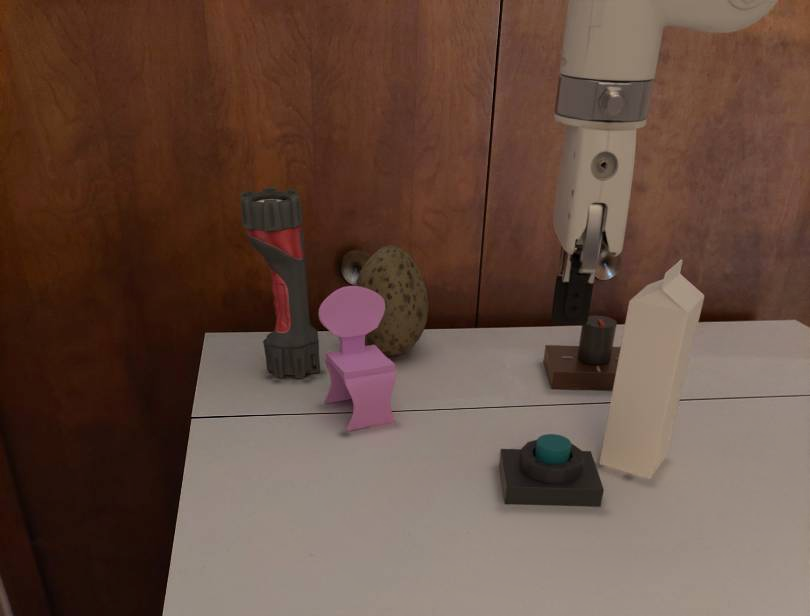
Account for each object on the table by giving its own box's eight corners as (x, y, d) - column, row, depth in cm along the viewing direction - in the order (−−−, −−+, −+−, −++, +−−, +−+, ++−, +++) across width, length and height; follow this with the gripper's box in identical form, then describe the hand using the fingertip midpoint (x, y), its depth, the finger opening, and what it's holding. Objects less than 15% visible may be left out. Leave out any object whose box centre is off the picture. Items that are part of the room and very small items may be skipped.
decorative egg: (441, 353, 115) (447, 247, 107) (389, 375, 109) (390, 263, 100) (388, 333, 121) (389, 230, 113) (336, 352, 115) (332, 245, 106)
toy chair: (340, 434, 95) (336, 311, 86) (316, 403, 102) (310, 286, 93) (404, 422, 98) (406, 301, 89) (376, 393, 104) (376, 278, 96)
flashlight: (245, 369, 110) (226, 191, 96) (291, 355, 114) (279, 182, 101) (278, 388, 105) (263, 203, 92) (325, 372, 109) (317, 194, 96)
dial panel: (627, 363, 114) (631, 345, 112) (641, 391, 106) (645, 372, 105) (543, 361, 114) (545, 343, 112) (551, 388, 106) (553, 370, 105)
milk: (666, 457, 92) (714, 263, 79) (649, 480, 88) (698, 279, 75) (615, 442, 95) (654, 252, 82) (597, 464, 91) (635, 267, 78)
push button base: (587, 468, 90) (593, 436, 88) (600, 507, 83) (606, 474, 81) (498, 465, 90) (502, 434, 88) (504, 504, 83) (508, 471, 81)
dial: (574, 351, 110) (580, 312, 107) (606, 352, 110) (613, 313, 107) (580, 364, 107) (586, 324, 104) (613, 365, 107) (620, 325, 104)
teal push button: (566, 448, 86) (568, 434, 85) (571, 465, 83) (573, 451, 82) (533, 447, 86) (535, 433, 85) (536, 464, 83) (538, 450, 82)
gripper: (671, 118, 59) (624, 353, 70) (629, 92, 71) (594, 296, 82) (569, 114, 59) (538, 350, 70) (545, 89, 71) (521, 293, 82)
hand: (568, 320), depth 76 cm, fingers closed
